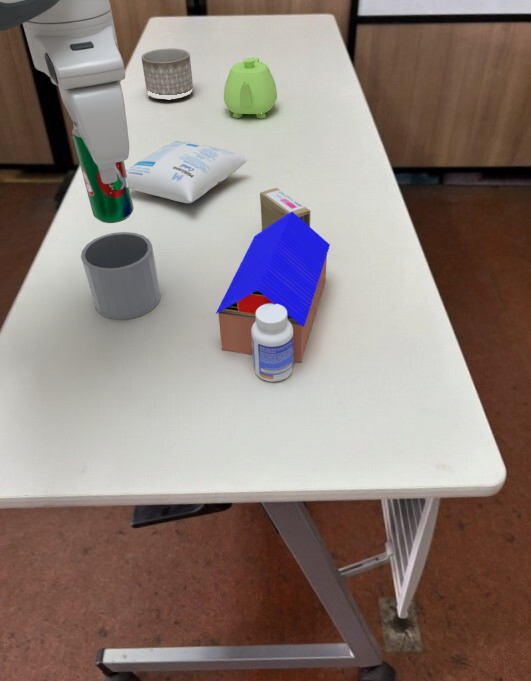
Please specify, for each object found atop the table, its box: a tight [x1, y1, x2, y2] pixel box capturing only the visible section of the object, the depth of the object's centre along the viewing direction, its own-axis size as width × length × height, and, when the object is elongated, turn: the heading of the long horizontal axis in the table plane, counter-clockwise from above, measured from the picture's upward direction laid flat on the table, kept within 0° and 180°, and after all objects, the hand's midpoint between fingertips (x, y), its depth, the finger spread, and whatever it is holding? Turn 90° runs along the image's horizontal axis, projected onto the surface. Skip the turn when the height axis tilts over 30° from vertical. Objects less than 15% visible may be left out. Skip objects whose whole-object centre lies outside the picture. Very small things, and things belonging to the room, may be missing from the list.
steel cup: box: [80, 231, 162, 321], centre depth 87 cm, size 10×10×9 cm
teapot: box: [223, 57, 278, 119], centre depth 143 cm, size 20×13×13 cm
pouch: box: [126, 140, 250, 204], centre depth 114 cm, size 8×19×20 cm
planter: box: [140, 48, 194, 95], centre depth 154 cm, size 13×13×10 cm
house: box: [215, 212, 331, 363], centre depth 82 cm, size 12×20×12 cm, turn 166°
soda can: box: [71, 121, 134, 224], centre depth 68 cm, size 5×5×12 cm
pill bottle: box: [251, 303, 294, 383], centre depth 74 cm, size 5×5×10 cm
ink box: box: [259, 187, 311, 231], centre depth 98 cm, size 10×4×8 cm, turn 32°
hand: (103, 169), depth 68 cm, fingers closed on soda can, 5 cm apart
